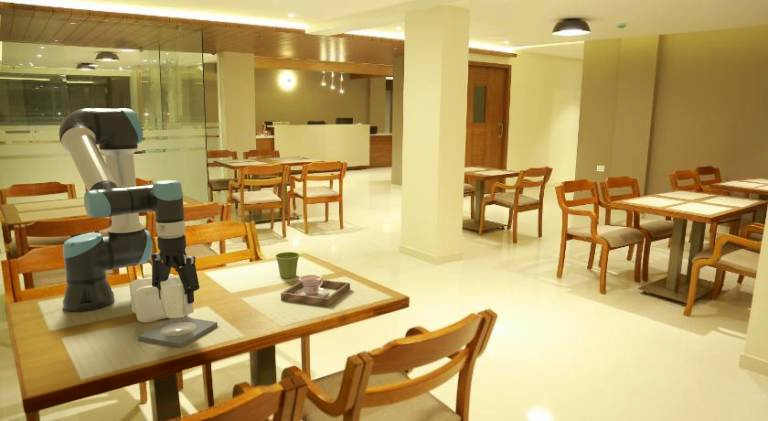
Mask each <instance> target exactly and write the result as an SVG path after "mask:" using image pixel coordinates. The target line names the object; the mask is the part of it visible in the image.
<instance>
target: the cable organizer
mask: <svg viewBox="0 0 768 421" xmlns="http://www.w3.org/2000/svg"><path fill="white" fill-rule="evenodd" d="M174 277H177V276H176V275H175V274H172V273H170V274H169V278H174ZM129 292H130V306H131V310H132V312H133V313H134V314H136V319H137V320H138V321H139V322H141V323H153V322H157V321H158V320H164V319H169V318H168V317H166V316H165V312H162V308H161V300H160V299H159V290H158V289H157V287H153V286H152V276H150V277H149V276H148V277H143V278H137V279H134V280H132V281H131V282H130V283H129Z"/></svg>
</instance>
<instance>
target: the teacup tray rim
mask: <svg viewBox="0 0 768 421" xmlns="http://www.w3.org/2000/svg"><path fill="white" fill-rule="evenodd" d="M321 281H322V280H321ZM321 281H320V284H321ZM320 284H319V285H320ZM320 288H324V289H326V288H328V289H335V290H336V291H334V292H333V293H332V294H330V295H329V296H328V297H315V296H316V295H314V296H307V295H306V294H304V295H300V294H294V293H295V292H296V291H298V290H300V289H304V287H303V285H302V283H301V282H300V281H298V282H296V283H294V284H293V285H292V286H290V287H288V288H287V289H285V290H283V291H281V293H280V301H283V302H285V301H286V302H290V303H291V302H293V303H300V304H307V305H308V304H309V305H316V306H323V307H330V306H331V305H332V304H334V303H335V302H336V301H337V300H339V299H340V298H342V297H343V296H344V295H345V294H347V293H348V292H349V291H350V290H351V282H345V281H338V280H337V281H336V280H330V279H329V280H327V279H323V283H322V285H321V287H320Z"/></svg>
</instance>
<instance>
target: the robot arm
mask: <svg viewBox="0 0 768 421" xmlns="http://www.w3.org/2000/svg"><path fill="white" fill-rule="evenodd" d="M58 130H59V132H58V137H59V141H60V143H61V145H62V147H63V149H64V150H65V151H67V152H68V153H69V154H70V157H71V158H72V161H73V162H74V165H75V167H76V169H77V171H78V173H79V175H80V178H81V180H82V182H83V184H84V186H85V188H86V190H87V191H86V192H84V195H83V204H84V208H85V213H86V214H87V216H88V217H89V218H108V217H111V219H110V220H111V226H110V227H108V228H107V235H104V236H103V234H102V233H100V232H91V233H90V232H87V233H82V234H79V235H74V236H72V237H70V238H68V239H67V240H65V241H64V242H63V245H62V258H63V263H64V271H65V280H66V288H65V292H64V297H63V300H62V306H63V309H64V310H65V311H66V312H67V311H68V312H77V313H78V312H89V311H95V310H98V309H103V308H105V307H107V306H110V305H112V304H113V303H114V302H115V293H114V291H113V290H112V287H111V285H110V284H109V280H108V279H107V271H111V270H116V269H122V268H128V267H137V266H138V265H139V266H140V265H142V264H146V263H147V262H149V261H150V259H151V261H152V267H151V268H152V272H151V277H152V286H153V287H157V289H158V290H159V299H160V300H161V308H162V312H165V311H164V306H163V300H162V293H161V286H160V282H161V281H166V280H167V279H168V278H169V274H171V269H174V271H175V272H177V275H178V277H180V279H181V282H182V284H183V287H184V289H185V293H183V297H184V310H185V315H186V316H189V315H191V314H192V313H194V303H195V294H194V293H195V292H196V291H199V289H200V282H199V278H198V273H197V268H196V260H197V259H196V256H194V255H192V256H190V255H187V253H186V248H187V237H186V235H185V234H186V225H185V224H186V222H185V213H184V212H185V211H184V210H185V209H184V192H183V188H182V187H183V186H182V182H181V181H179V180H174V179H173V180H172V179H171V180H169V179H168V180H167V179H166V180H165V179H163V180H158V181H155V182H153V183H146V184H144V185H139V186H137V180H136V168H135V167H136V166H135V158H134V154H135V153H136V152H137V150H138V149H139V148H138V145H139V144H140V143H142V142H143V140H144V138H143V137H144V130H143V125H142V122H141V119H140V117H139V115H138V114H137V113H136V111H134V110H133V109H130V108H121V107H115V108H113V107H111V108H81V109H77V110H74V111H72V112H71V113H70V114H68V115H67V116H65V118H64V119H63V121H62V122H61V124H60V127H59V129H58ZM97 145H98V146H97ZM102 154H104V156H105V159H104V157H103V155H102ZM145 212H146V213H147V212H154V216H155V226H156V235H157V236H158V237H157V238H156V239H157V249H158V250H159V252H155V253H153V239H152V235H151V232H150V231H149V230H146V229H145V228H146V227H145V225H143V224H142V223H141V222H140V217H139V216H140V214H139V213H145Z"/></svg>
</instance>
